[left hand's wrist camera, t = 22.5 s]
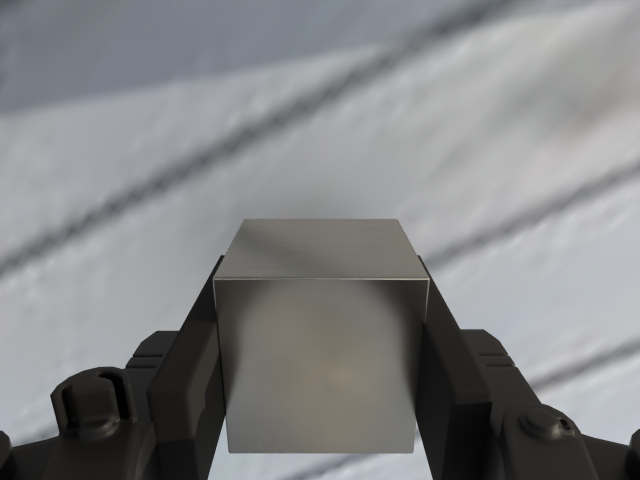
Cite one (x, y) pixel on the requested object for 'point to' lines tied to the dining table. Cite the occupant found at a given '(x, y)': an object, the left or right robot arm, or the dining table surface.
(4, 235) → the dining table surface
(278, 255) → the grey square block
